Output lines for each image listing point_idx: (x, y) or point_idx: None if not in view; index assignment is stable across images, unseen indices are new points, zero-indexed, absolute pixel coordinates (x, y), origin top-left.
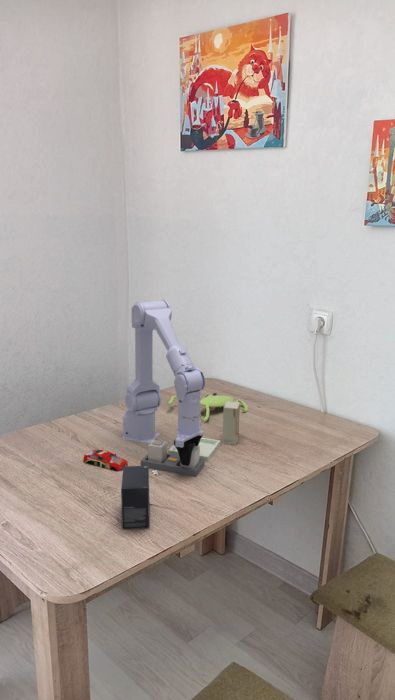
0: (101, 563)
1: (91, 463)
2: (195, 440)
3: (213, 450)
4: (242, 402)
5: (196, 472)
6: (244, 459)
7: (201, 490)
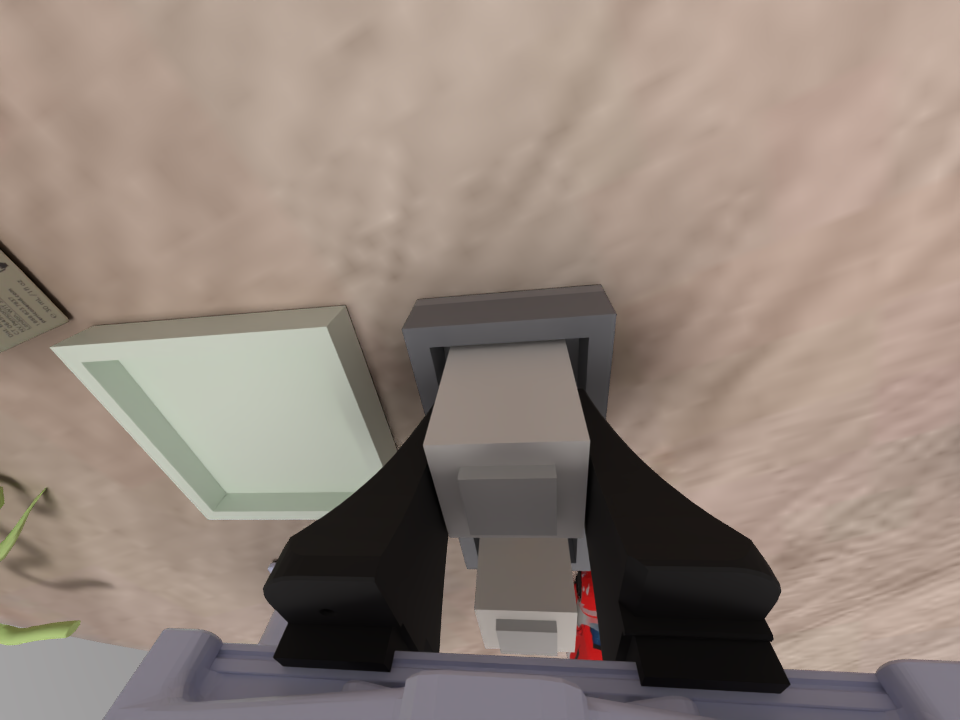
0: None
1: None
2: (416, 535)
3: (205, 333)
4: None
5: (599, 305)
6: (44, 35)
7: (782, 164)
